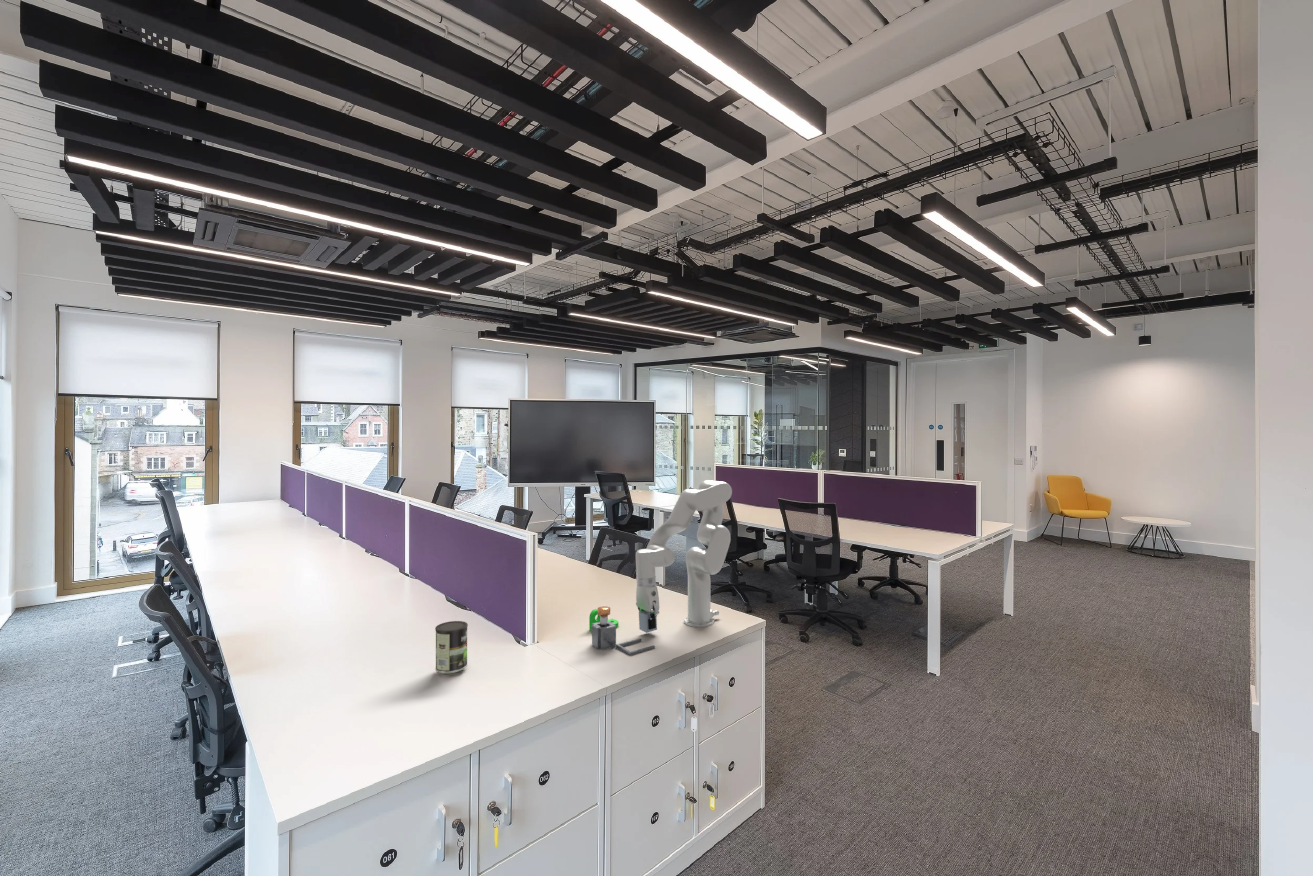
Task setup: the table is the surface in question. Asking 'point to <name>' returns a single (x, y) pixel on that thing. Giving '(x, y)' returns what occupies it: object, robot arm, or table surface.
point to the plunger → (604, 615)
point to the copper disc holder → (603, 636)
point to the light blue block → (645, 621)
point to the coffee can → (451, 646)
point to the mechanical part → (598, 619)
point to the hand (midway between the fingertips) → (648, 626)
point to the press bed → (621, 645)
